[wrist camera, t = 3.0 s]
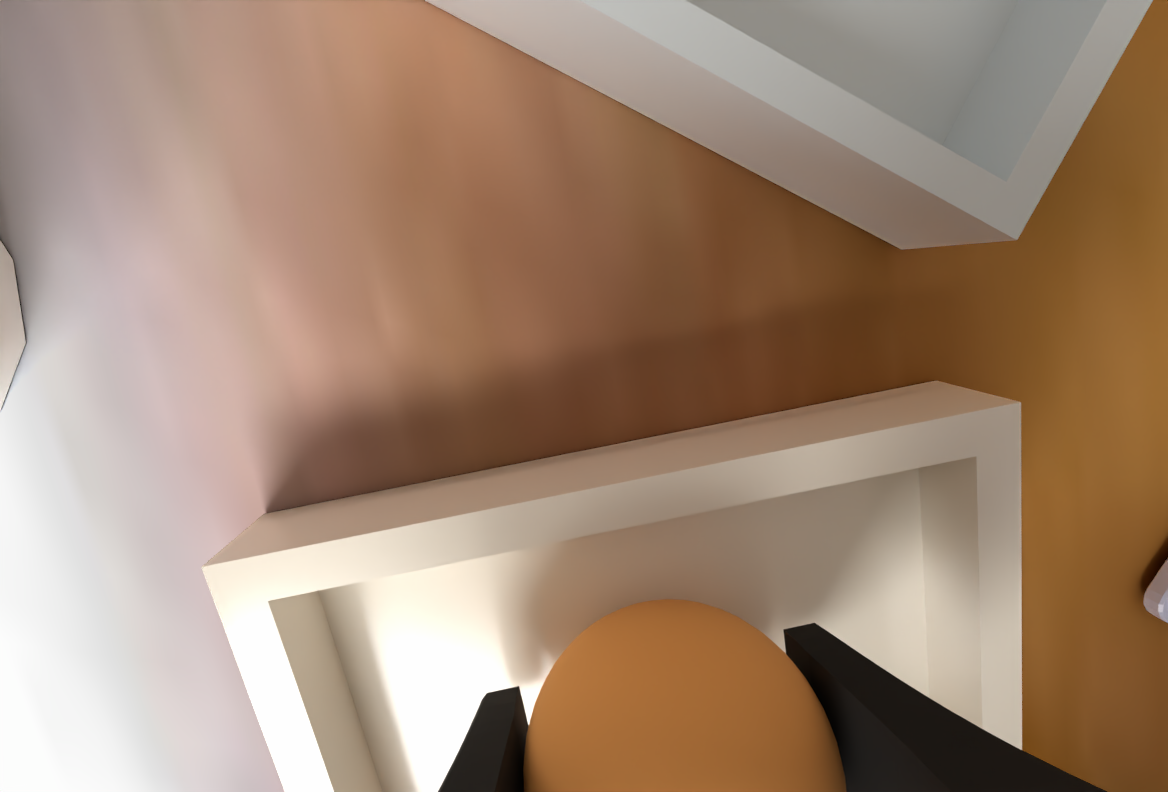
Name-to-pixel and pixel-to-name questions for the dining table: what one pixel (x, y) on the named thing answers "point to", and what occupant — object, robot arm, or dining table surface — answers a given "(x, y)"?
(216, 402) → the dining table surface
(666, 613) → the ball
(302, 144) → the dining table surface
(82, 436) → the dining table surface
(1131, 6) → the tray
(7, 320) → the foam cup
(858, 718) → the robot arm
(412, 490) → the dish
